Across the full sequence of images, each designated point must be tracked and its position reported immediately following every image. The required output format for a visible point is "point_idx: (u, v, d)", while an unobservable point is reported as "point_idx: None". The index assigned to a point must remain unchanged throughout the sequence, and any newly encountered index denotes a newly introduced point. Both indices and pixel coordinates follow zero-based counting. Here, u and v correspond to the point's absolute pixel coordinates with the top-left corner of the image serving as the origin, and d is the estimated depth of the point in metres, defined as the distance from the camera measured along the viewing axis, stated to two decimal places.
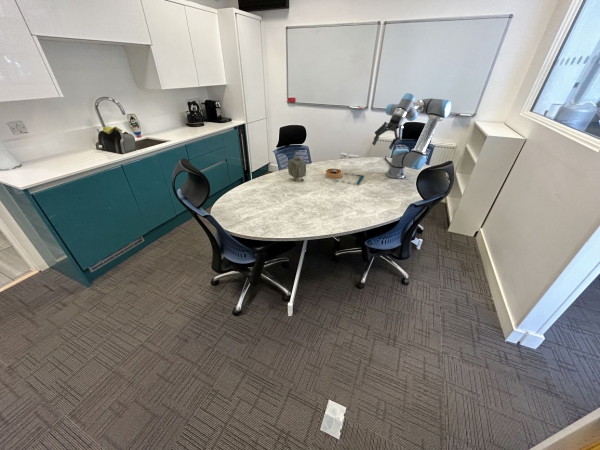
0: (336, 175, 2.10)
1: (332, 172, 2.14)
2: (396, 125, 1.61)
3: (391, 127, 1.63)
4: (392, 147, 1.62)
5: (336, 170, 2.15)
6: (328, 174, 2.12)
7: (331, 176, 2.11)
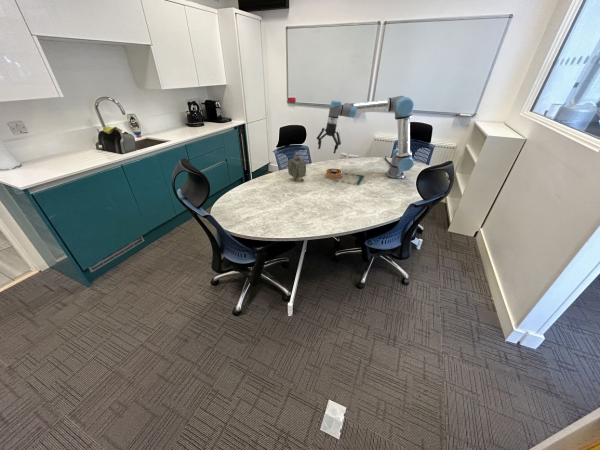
0: (336, 175, 2.10)
1: (332, 172, 2.14)
2: (333, 132, 1.88)
3: (329, 134, 1.89)
4: (335, 150, 1.95)
5: (336, 170, 2.15)
6: (328, 174, 2.12)
7: (331, 176, 2.11)
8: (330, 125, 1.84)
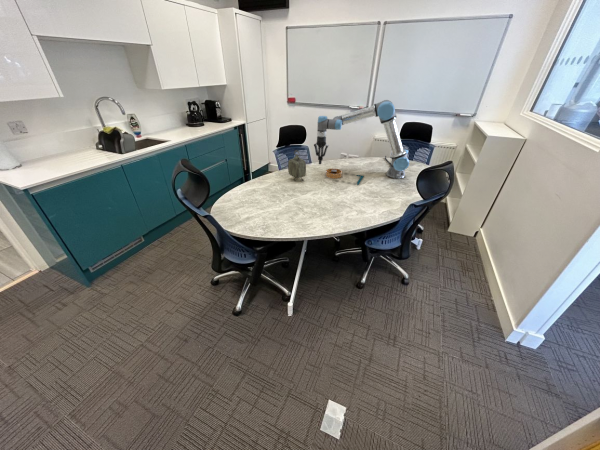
0: (336, 175, 2.10)
1: (332, 172, 2.14)
2: (324, 144, 2.06)
3: (320, 146, 2.08)
4: (321, 161, 2.17)
5: (336, 170, 2.15)
6: (328, 174, 2.12)
7: (331, 176, 2.11)
8: (320, 138, 2.02)
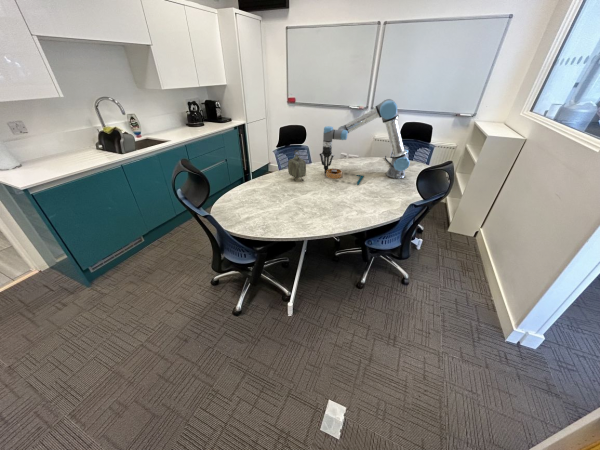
0: (336, 175, 2.10)
1: (332, 172, 2.13)
2: (329, 153, 2.08)
3: (326, 155, 2.10)
4: None
5: (336, 170, 2.15)
6: (328, 174, 2.12)
7: (331, 176, 2.11)
8: (326, 148, 2.04)
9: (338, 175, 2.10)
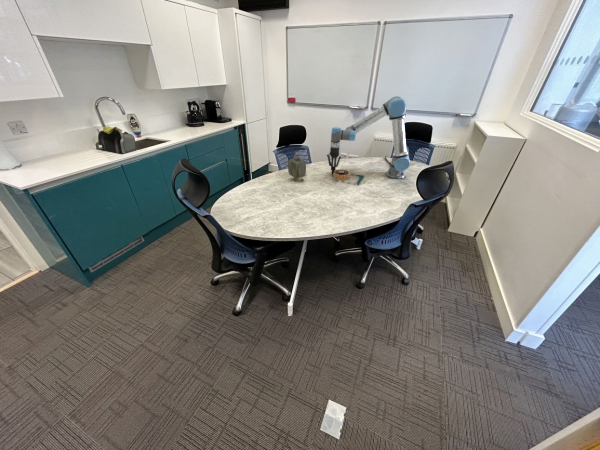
0: (344, 176, 2.08)
1: (339, 173, 2.11)
2: (337, 154, 2.05)
3: (334, 156, 2.07)
4: None
5: (343, 171, 2.13)
6: (336, 175, 2.09)
7: (339, 177, 2.09)
8: (334, 149, 2.02)
9: (346, 176, 2.08)
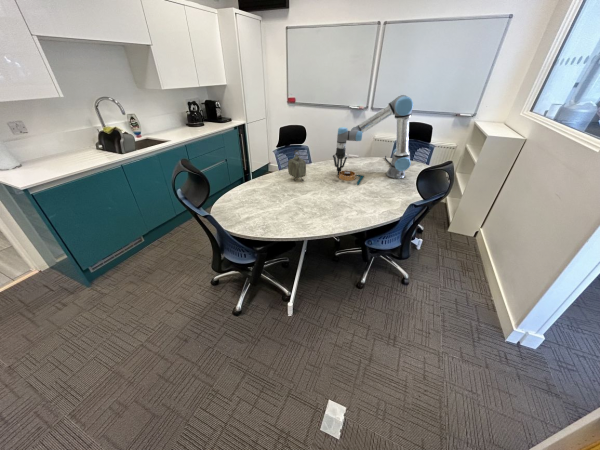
0: (350, 177, 2.06)
1: (345, 174, 2.09)
2: (343, 155, 2.04)
3: (340, 157, 2.06)
4: None
5: (349, 172, 2.11)
6: (342, 176, 2.08)
7: (345, 178, 2.07)
8: (340, 150, 2.00)
9: (352, 177, 2.06)
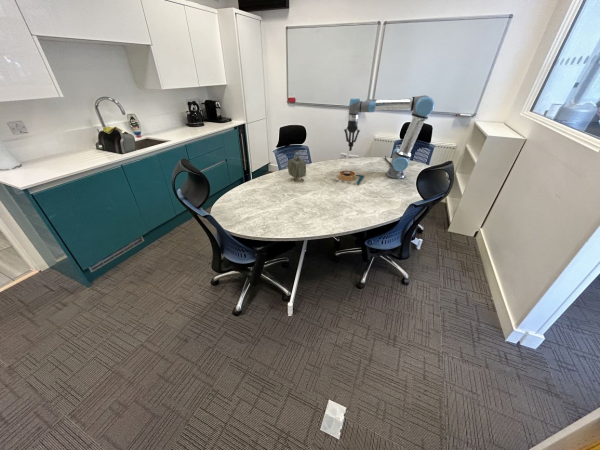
0: (350, 177, 2.06)
1: (345, 174, 2.09)
2: (355, 128, 1.94)
3: (352, 131, 1.96)
4: (351, 148, 2.05)
5: (349, 172, 2.11)
6: (342, 176, 2.08)
7: (345, 178, 2.07)
8: (352, 122, 1.91)
9: (352, 177, 2.06)
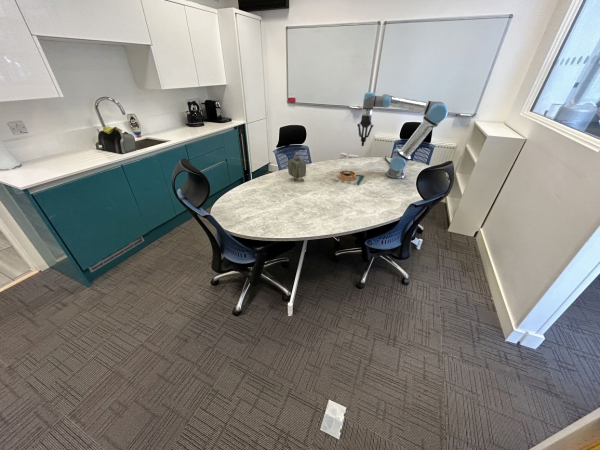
0: (350, 177, 2.06)
1: (345, 174, 2.09)
2: (369, 123, 1.93)
3: (365, 125, 1.95)
4: None
5: (349, 172, 2.11)
6: (342, 176, 2.08)
7: (345, 178, 2.07)
8: (366, 117, 1.89)
9: (352, 177, 2.06)
